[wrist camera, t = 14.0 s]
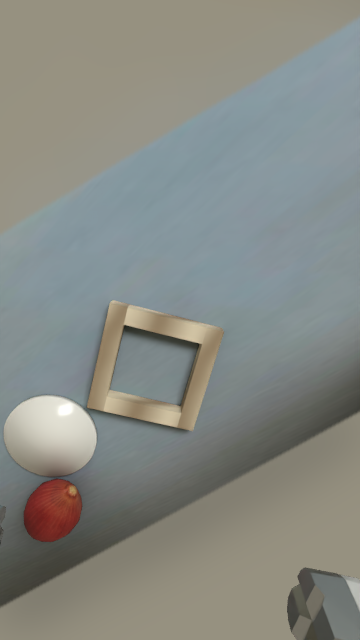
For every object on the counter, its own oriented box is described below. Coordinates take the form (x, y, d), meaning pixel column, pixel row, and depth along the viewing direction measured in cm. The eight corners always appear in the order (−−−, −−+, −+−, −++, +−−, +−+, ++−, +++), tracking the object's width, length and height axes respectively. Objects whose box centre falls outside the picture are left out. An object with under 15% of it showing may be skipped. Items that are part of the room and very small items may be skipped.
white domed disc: (105, 406, 36) (104, 408, 35) (87, 480, 38) (86, 484, 38) (12, 385, 35) (10, 388, 35) (0, 463, 38) (-2, 466, 37)
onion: (80, 459, 39) (44, 502, 41) (39, 469, 34) (-1, 517, 36) (104, 504, 36) (64, 548, 38) (62, 521, 31) (18, 571, 33)
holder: (221, 327, 34) (224, 332, 33) (191, 423, 37) (192, 430, 35) (112, 300, 33) (109, 303, 32) (90, 400, 36) (86, 407, 34)
